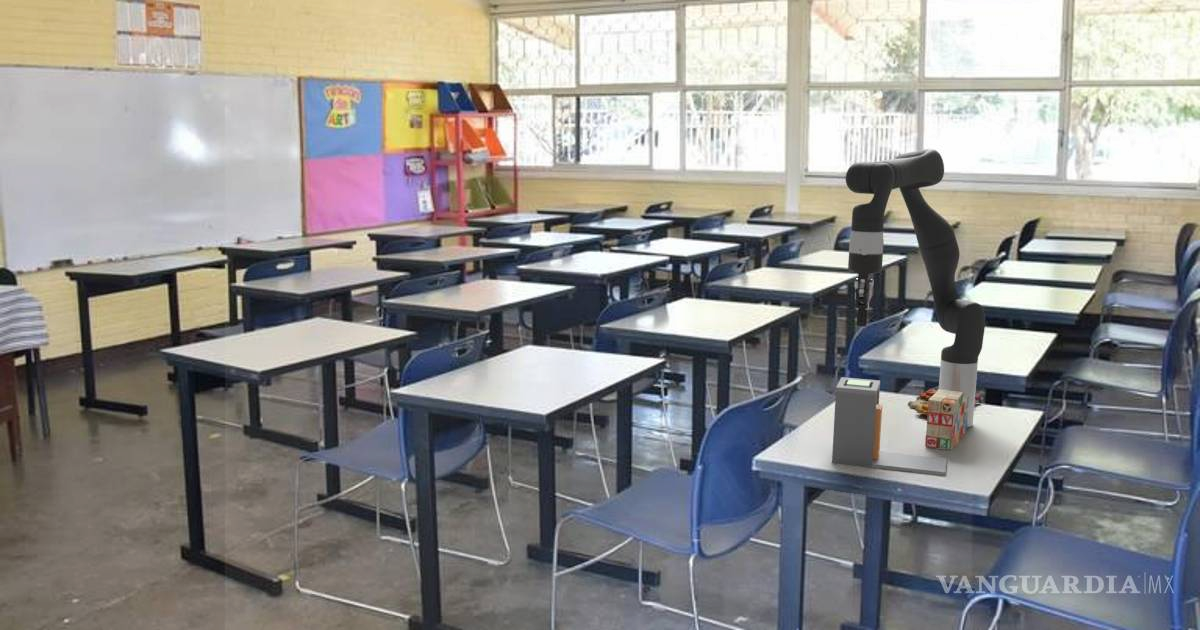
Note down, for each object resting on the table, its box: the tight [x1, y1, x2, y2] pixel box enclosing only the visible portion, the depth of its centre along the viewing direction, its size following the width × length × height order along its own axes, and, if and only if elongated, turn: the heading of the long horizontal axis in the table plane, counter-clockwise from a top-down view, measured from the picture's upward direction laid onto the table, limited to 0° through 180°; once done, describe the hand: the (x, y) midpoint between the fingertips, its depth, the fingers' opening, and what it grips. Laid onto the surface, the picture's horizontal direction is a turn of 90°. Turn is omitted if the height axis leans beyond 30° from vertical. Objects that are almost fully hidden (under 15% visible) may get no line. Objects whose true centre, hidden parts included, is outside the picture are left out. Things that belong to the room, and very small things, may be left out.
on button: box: [846, 379, 871, 388], centre depth 240 cm, size 5×5×5 cm
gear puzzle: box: [907, 386, 984, 416], centre depth 291 cm, size 31×16×4 cm, turn 144°
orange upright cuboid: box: [873, 403, 883, 460], centre depth 241 cm, size 4×8×12 cm, turn 71°
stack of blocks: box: [924, 389, 969, 452], centre depth 260 cm, size 21×6×12 cm, turn 151°
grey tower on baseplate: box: [831, 376, 947, 476], centre depth 239 cm, size 11×25×18 cm, turn 71°
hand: (861, 325), depth 238 cm, fingers closed
